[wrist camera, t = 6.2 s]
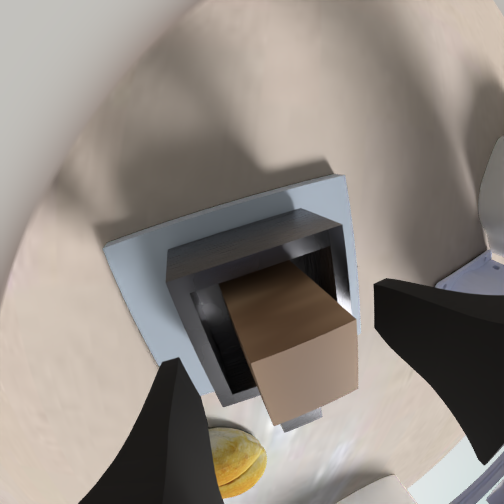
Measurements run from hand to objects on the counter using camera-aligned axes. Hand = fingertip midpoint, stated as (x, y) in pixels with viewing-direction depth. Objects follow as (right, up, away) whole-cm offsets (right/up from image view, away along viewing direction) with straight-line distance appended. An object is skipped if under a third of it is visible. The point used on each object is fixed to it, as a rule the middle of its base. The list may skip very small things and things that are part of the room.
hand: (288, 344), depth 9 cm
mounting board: (-1, +1, +6) cm, 6 cm away
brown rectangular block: (-1, +1, +4) cm, 4 cm away
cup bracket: (-1, 0, +5) cm, 5 cm away
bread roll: (-5, -13, +10) cm, 17 cm away
